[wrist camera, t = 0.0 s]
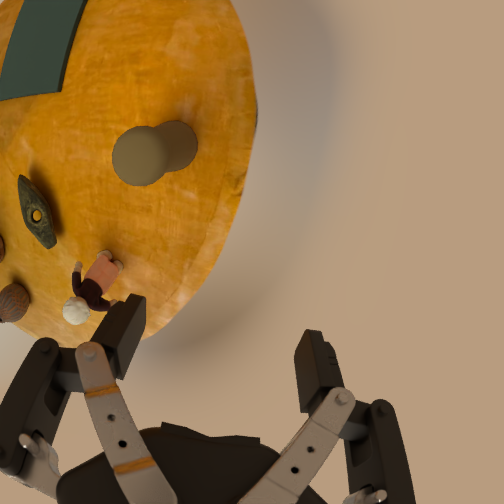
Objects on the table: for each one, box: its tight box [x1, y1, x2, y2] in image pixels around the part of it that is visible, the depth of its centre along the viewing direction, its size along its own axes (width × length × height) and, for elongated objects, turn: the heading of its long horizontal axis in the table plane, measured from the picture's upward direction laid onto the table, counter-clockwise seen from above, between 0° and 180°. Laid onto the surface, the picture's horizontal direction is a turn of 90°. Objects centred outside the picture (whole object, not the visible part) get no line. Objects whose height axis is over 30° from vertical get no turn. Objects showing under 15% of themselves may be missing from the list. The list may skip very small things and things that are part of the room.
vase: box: [0, 284, 29, 323], centre depth 35 cm, size 7×7×9 cm
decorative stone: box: [18, 175, 57, 249], centre depth 29 cm, size 11×8×5 cm
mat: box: [0, 0, 87, 101], centre depth 19 cm, size 20×16×1 cm
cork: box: [112, 121, 198, 186], centre depth 24 cm, size 6×6×11 cm
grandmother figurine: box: [62, 250, 123, 325], centre depth 30 cm, size 8×4×13 cm, turn 50°
